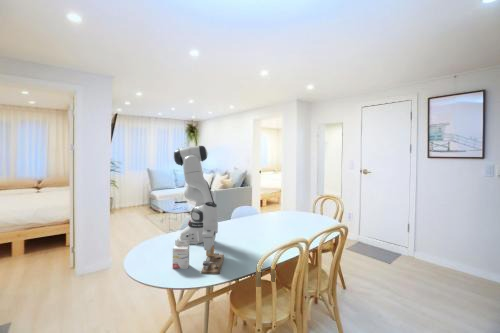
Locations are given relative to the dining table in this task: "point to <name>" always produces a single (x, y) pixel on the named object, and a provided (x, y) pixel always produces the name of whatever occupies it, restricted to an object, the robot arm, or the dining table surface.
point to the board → (213, 264)
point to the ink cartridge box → (181, 254)
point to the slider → (212, 252)
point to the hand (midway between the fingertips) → (210, 251)
